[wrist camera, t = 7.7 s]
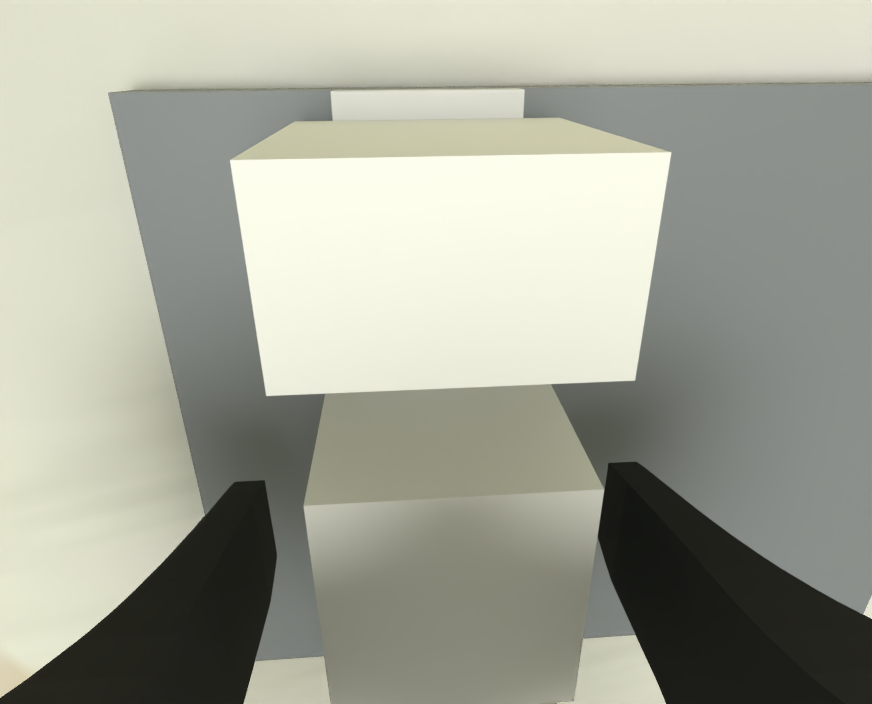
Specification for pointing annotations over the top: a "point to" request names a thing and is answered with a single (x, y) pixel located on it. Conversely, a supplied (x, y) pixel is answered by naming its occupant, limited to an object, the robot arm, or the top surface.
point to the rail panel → (702, 335)
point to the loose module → (451, 545)
